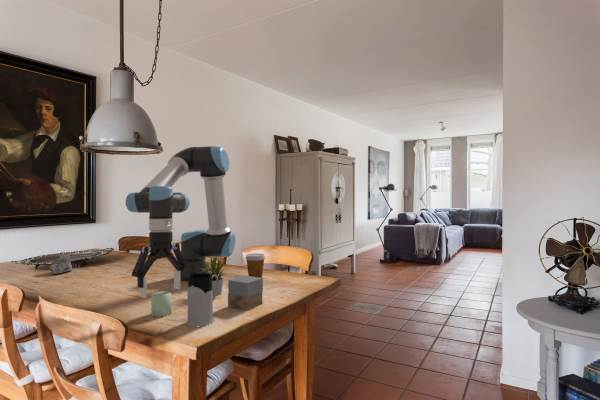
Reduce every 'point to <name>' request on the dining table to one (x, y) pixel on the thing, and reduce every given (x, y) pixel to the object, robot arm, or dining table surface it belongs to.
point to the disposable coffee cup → (255, 264)
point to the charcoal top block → (245, 286)
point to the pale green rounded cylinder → (161, 303)
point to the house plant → (215, 272)
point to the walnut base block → (244, 301)
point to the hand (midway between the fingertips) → (160, 292)
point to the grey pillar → (200, 299)
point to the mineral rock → (61, 264)
